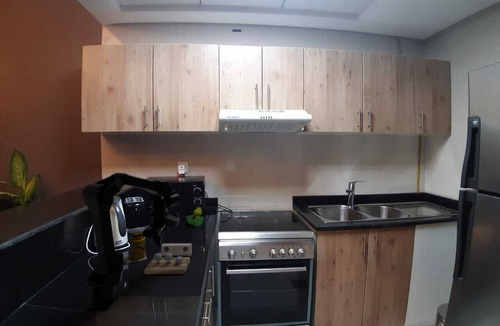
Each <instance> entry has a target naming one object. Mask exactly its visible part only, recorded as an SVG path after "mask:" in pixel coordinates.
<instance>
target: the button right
mask: <svg viewBox="0 0 500 326" xmlns="http://www.w3.org/2000/svg"><path fill="white" fill-rule="evenodd" d="M183 257H184V256H177V257H176V258H175V263H176V264H181V263H183Z"/></svg>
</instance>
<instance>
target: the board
mask: <svg viewBox="0 0 500 326" xmlns="http://www.w3.org/2000/svg"><path fill="white" fill-rule="evenodd" d="M182 257H183V263H181V264H176V263H175V258H176V257H174V256H173V257H172V260H170V264H167V261H166V260H165V257H162V259H161V260H160V264H157V261H155V260H154V258H152V260H151V261H150V263H148V265H147V266H146V267H145V268H144V275H176V274H177V275H183V274H184V275H185V273H186V271H187V269H188V267H189V264H190V263H191V258H190V257H191V256H190V257H189V256H187V257H185V256H182Z"/></svg>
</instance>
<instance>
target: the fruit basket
mask: <svg viewBox="0 0 500 326" xmlns="http://www.w3.org/2000/svg"><path fill="white" fill-rule="evenodd" d="M201 215H202V208H201V207H199V206H197V208H196V209H195V210H194V211H193V214H191V215H187V216H186V219H187V223H188V225H191V226H194V227H199V226H202V225H203V223H204V222H203V221H204V219H205V217H204V216H201Z"/></svg>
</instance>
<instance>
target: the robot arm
mask: <svg viewBox="0 0 500 326" xmlns="http://www.w3.org/2000/svg"><path fill="white" fill-rule="evenodd" d="M124 186H129V187H131V188H132V187H133V188H139V189H141V190H142V189H143V190H145V191H146V192H148V193H150V194H151V195H150V196H149V197H148V198H147V199H146V201H148V202H151V212H150V213H149V216H150V217H151V222H150V223H149V226H147V227H145V228H144V230H142V231H143V232H142V237H145V238H152V239H153V240H154V243H155V244H156V246H157V247H160V246H161V245H162V242H163V237H164V234H165V233H166V231H167V230H168V229H169V227H171V228H172V229H176V228H177V227H178V225H179V223H180V221H181V217H180V213H177V212H176V213H174V214H170V213H169V211H168V210H167V208H170V207H174V206H176V205H179V204H180V203H181V196H180V195H179V194H178V191H177V190H172V189H171V187H170V185H169V182H168V181H166V180H158V179H157V180H156V179H146V178H143V177H139V176H135V175H131V174H128V173H125V172H115V173H112V174H111V175H109V176H107V177H105V178H103V179H100V180H98V181H95V182H94V183H90V184H88V185H86V186H85V187H84V189H82V192H81V196H82V198H83V199H82V200H83V201H84V204H85V205H86V207H87V209H88V210H89V211H90V212H91V217H92V223H93V224H92V225H93V230H94V238H95V244H96V251H97V255H96V258H95V260H94V261H93V269H92V271H91V272H90V273H89V275H88V277H87V278H86V279H85V284H86V285H87V286H88V287H91V288H92V290H91V303H90V305H88V307H87V308H86V310H87V311H100V310H101V311H107V310H109V308H110V307H111V306H112V305H113V304H114V303H115V302H116V301H117V299H118V298H119V294H115V287H116V286H118V285H119V283H120V280H121V277H122V273H123V271H124V265H126V263H125V261H124V254H123V253H121V252H118V251H116V246H115V240H114V239H115V238H114V231H113V230H114V229H113V223H112V216H111V209H112V206H113V205H114V202H115V196H116V195H118V193H120V192H121V191H122V189H123V188H124Z"/></svg>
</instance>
